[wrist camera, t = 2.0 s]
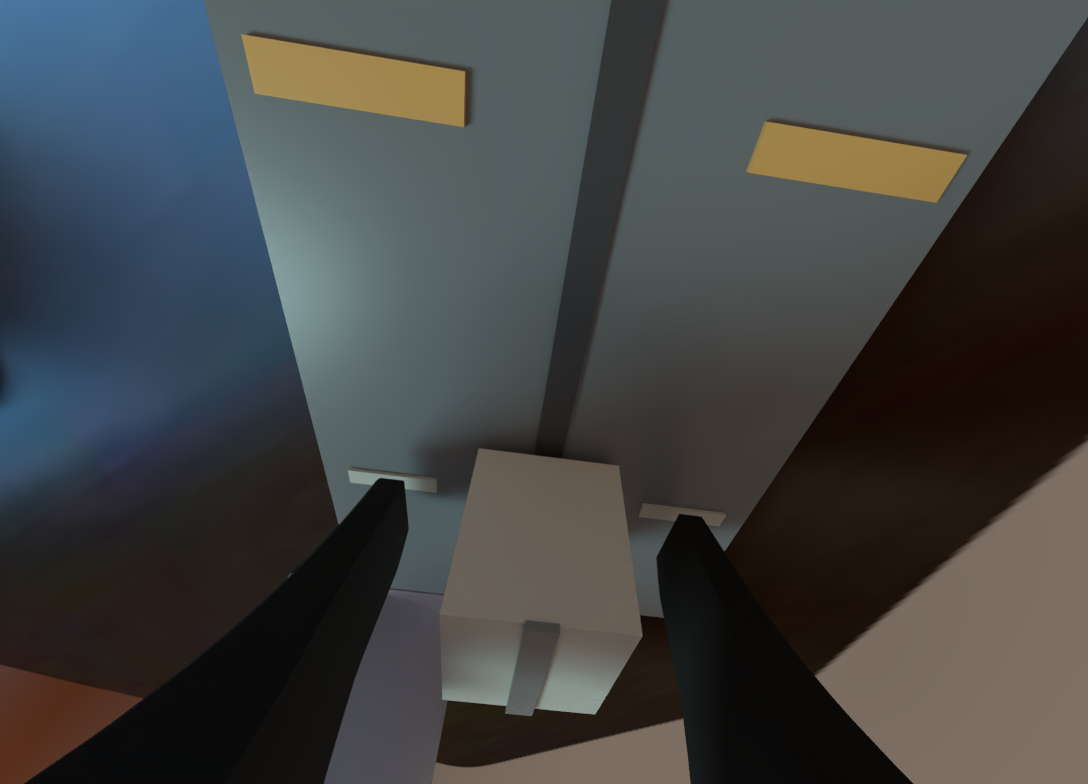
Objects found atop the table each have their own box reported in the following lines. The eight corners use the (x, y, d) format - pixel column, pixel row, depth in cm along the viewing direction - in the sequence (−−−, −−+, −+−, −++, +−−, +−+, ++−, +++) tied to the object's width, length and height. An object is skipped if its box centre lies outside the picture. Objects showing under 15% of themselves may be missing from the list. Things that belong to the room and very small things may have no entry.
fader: (587, 556, 13) (595, 721, 10) (473, 544, 13) (440, 707, 9) (619, 464, 10) (644, 642, 7) (478, 446, 10) (437, 620, 7)
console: (667, 569, 17) (678, 622, 16) (374, 536, 17) (352, 587, 15) (1016, -47, 7) (1171, -93, 5) (242, -195, 6) (117, -303, 4)
